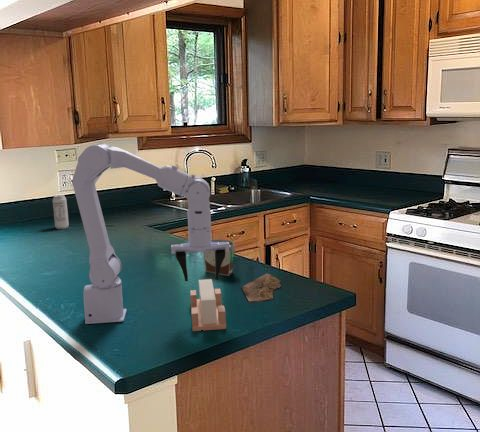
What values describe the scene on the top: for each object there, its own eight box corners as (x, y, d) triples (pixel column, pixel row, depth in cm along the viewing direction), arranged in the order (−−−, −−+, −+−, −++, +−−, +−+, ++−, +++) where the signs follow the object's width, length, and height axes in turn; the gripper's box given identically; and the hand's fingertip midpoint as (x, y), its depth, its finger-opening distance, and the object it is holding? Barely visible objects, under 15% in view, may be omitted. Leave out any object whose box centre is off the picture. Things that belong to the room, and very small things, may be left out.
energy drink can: (71, 226, 248) (68, 194, 245) (65, 229, 242) (62, 196, 239) (59, 226, 249) (56, 194, 246) (52, 229, 243) (49, 196, 240)
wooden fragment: (270, 305, 142) (270, 301, 142) (231, 302, 145) (230, 298, 145) (288, 276, 167) (288, 273, 166) (254, 274, 170) (254, 271, 169)
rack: (192, 331, 126) (191, 315, 125) (190, 303, 145) (190, 289, 144) (226, 328, 127) (225, 313, 126) (220, 301, 145) (219, 287, 145)
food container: (243, 271, 172) (243, 241, 170) (232, 276, 167) (232, 245, 165) (213, 266, 178) (212, 237, 176) (202, 270, 173) (200, 241, 172)
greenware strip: (202, 324, 127) (201, 300, 126) (199, 301, 143) (198, 279, 142) (216, 323, 128) (215, 299, 127) (212, 300, 143) (211, 279, 142)
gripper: (169, 232, 128) (172, 285, 130) (229, 229, 129) (231, 282, 132) (170, 225, 134) (173, 277, 137) (227, 223, 136) (228, 274, 139)
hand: (201, 279), depth 135 cm, fingers open, 7 cm apart
